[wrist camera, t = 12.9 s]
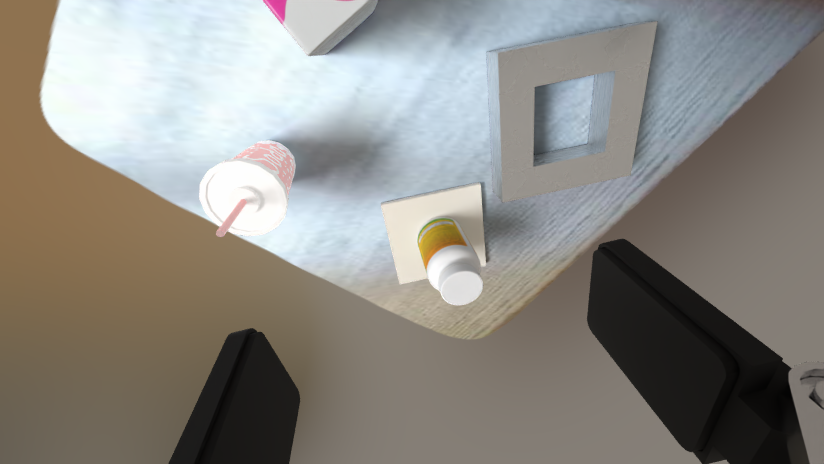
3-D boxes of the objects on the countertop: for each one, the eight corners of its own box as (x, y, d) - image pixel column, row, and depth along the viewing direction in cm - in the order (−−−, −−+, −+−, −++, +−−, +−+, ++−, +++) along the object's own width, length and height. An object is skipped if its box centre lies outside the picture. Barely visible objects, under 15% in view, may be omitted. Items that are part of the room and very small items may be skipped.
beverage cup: (317, 167, 34) (293, 236, 21) (274, 204, 35) (229, 289, 23) (268, 117, 31) (209, 166, 19) (223, 159, 32) (140, 230, 20)
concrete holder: (632, 23, 31) (657, 21, 28) (612, 166, 38) (630, 175, 35) (486, 52, 31) (497, 52, 28) (492, 191, 38) (502, 202, 35)
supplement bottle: (406, 240, 38) (420, 295, 30) (438, 206, 37) (461, 254, 28) (440, 263, 41) (462, 320, 32) (471, 231, 39) (502, 282, 31)
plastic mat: (478, 182, 37) (480, 184, 36) (484, 262, 42) (486, 265, 42) (380, 202, 36) (380, 205, 36) (399, 281, 42) (399, 284, 41)
